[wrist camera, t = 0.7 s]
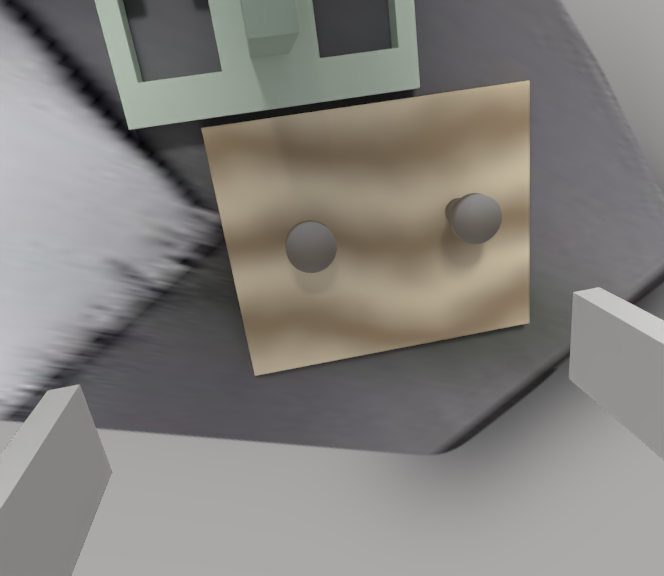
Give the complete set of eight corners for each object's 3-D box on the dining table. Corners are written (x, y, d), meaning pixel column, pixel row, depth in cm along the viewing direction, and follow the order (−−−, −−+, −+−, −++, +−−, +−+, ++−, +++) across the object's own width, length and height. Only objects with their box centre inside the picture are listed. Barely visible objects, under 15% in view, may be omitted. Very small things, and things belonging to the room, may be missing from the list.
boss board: (202, 127, 32) (194, 128, 27) (522, 81, 34) (561, 75, 29) (254, 369, 38) (254, 401, 34) (522, 318, 40) (555, 342, 36)
